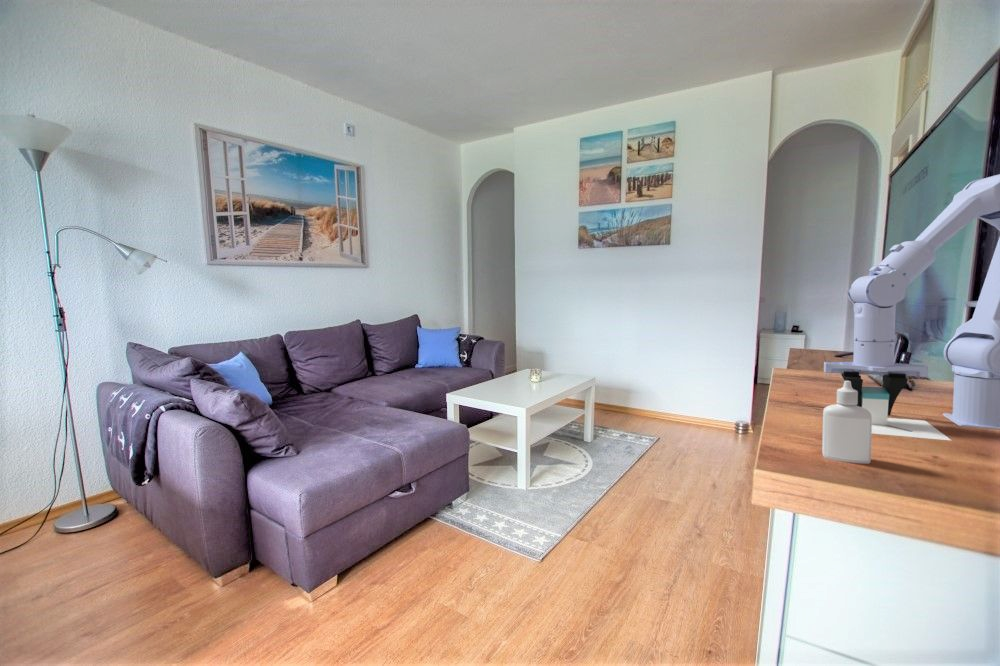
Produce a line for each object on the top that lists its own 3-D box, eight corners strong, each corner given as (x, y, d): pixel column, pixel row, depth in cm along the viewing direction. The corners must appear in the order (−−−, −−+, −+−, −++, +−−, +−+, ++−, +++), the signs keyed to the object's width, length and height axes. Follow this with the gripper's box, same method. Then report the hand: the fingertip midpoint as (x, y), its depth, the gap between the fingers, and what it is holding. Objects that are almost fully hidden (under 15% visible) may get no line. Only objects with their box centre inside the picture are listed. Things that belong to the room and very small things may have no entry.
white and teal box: (881, 417, 82) (883, 387, 81) (887, 425, 79) (889, 394, 77) (857, 415, 84) (859, 386, 82) (861, 423, 81) (863, 393, 79)
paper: (925, 422, 81) (925, 420, 81) (951, 442, 70) (951, 440, 70) (843, 416, 87) (843, 414, 87) (857, 433, 76) (857, 431, 76)
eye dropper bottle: (861, 469, 62) (863, 386, 61) (817, 457, 67) (818, 380, 66) (875, 462, 64) (877, 382, 63) (831, 451, 69) (833, 376, 68)
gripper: (828, 342, 80) (827, 414, 81) (935, 343, 73) (932, 422, 74) (822, 338, 86) (821, 405, 87) (920, 339, 79) (918, 412, 80)
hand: (871, 412), depth 81 cm, fingers closed on white and teal box, 3 cm apart
